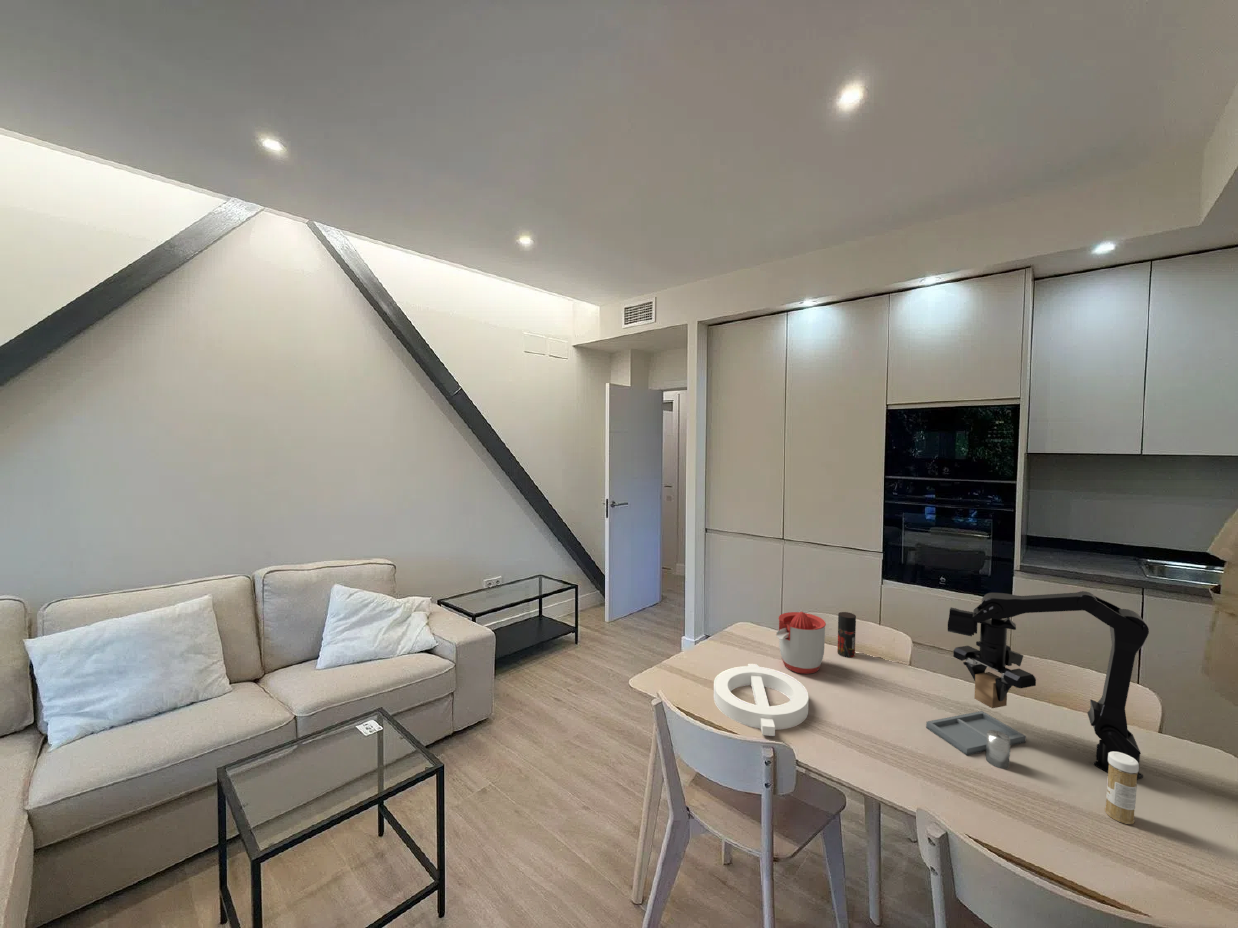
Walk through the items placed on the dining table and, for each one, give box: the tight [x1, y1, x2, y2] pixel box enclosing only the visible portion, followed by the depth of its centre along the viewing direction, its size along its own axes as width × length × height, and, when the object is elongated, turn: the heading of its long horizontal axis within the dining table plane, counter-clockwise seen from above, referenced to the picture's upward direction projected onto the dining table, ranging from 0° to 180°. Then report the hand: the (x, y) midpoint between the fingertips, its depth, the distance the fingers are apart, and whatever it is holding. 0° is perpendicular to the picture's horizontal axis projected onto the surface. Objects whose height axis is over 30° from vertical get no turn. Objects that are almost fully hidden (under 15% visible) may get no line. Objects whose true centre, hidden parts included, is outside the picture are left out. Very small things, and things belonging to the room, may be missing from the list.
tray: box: [925, 710, 1027, 756], centre depth 132 cm, size 12×20×2 cm, turn 104°
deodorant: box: [837, 611, 857, 659], centre depth 180 cm, size 6×6×15 cm
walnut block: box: [974, 671, 1008, 709], centre depth 132 cm, size 5×5×7 cm
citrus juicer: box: [775, 611, 827, 674], centre depth 170 cm, size 16×17×20 cm
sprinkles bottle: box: [1104, 751, 1140, 825], centre depth 103 cm, size 5×5×13 cm
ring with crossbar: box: [713, 663, 809, 737], centre depth 149 cm, size 28×28×5 cm
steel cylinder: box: [985, 730, 1011, 770], centre depth 121 cm, size 5×5×7 cm
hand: (990, 695), depth 132 cm, fingers closed on walnut block, 5 cm apart
